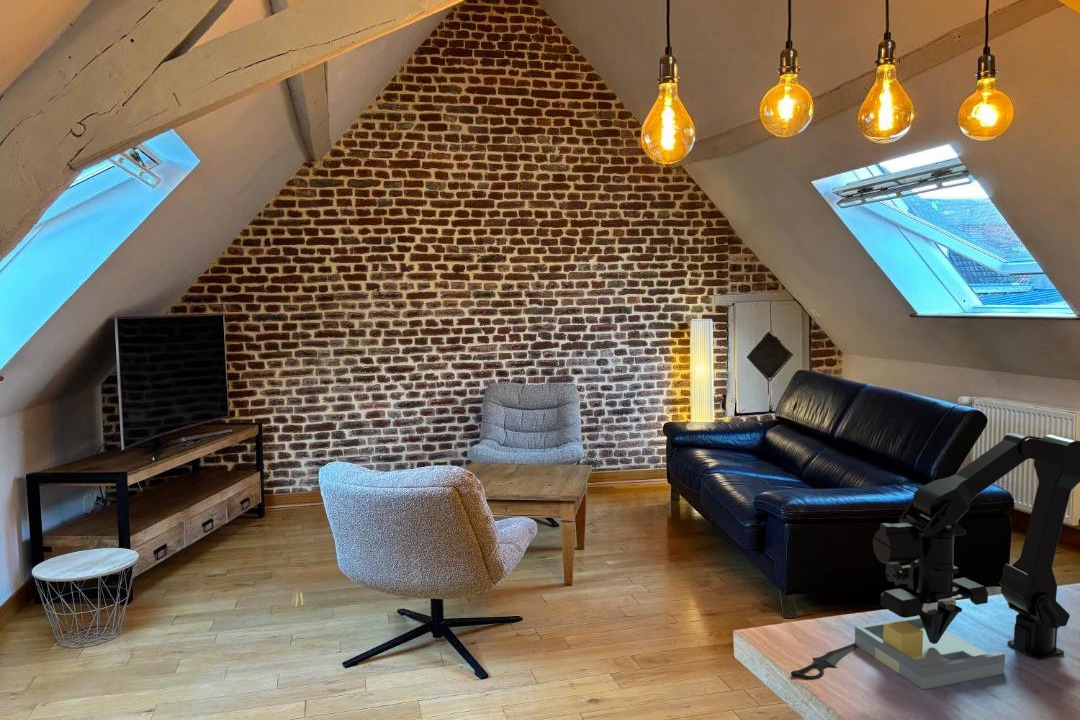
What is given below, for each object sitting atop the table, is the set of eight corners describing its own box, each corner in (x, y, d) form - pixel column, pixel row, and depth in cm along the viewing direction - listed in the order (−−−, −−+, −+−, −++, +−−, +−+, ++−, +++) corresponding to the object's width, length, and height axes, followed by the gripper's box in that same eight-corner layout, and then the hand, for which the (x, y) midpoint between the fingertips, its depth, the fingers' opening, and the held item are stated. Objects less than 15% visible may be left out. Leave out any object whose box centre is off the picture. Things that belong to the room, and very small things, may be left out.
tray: (929, 631, 151) (929, 613, 150) (1004, 673, 134) (1005, 653, 134) (854, 644, 146) (855, 626, 146) (923, 689, 130) (923, 669, 129)
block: (903, 644, 141) (904, 620, 141) (922, 655, 137) (923, 631, 137) (882, 648, 140) (883, 624, 140) (901, 659, 136) (901, 634, 135)
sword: (807, 686, 132) (808, 681, 132) (786, 674, 135) (786, 669, 135) (891, 642, 148) (892, 637, 148) (870, 633, 151) (870, 628, 151)
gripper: (942, 538, 149) (940, 616, 151) (860, 550, 144) (859, 631, 145) (991, 557, 138) (988, 641, 140) (904, 571, 133) (902, 659, 135)
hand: (933, 642), depth 140 cm, fingers closed
